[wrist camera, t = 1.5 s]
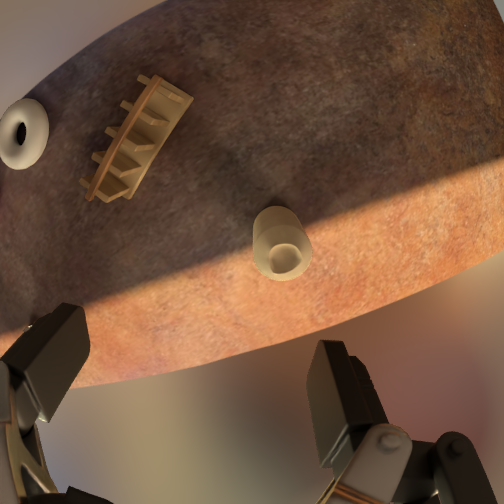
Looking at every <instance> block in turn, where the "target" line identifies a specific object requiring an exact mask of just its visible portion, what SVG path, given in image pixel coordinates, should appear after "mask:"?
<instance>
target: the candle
mask: <svg viewBox="0 0 504 504" xmlns="http://www.w3.org/2000/svg"><path fill="white" fill-rule="evenodd" d="M312 254H313V250H312V245H311V242H310V240H309V238H308V236H307V234H306V232H305V230H304V229H303V227H302V225H301V223H300V221H299V220H298V218H297V217H296V215H295V214H294V213H293V212H292V211H291V210H289V209H288V208H286V207H282V206H271V207H268V208H266V209H264V210H263V211H261V212H260V213H259V214H258V216H257V217H256V219H255V221H254V225H253V259H254V262H255V265H256V267H257V268H258V270H259V271H260V272H261V273H262V274H263V275H264V276H266V277H268V278H270V279H272V280H277V281H287V280H291V279H294V278H296V277H298V276H300V275H301V274H302V273H303V272H304V271H305V270H306V269H307V268H308V266H309V264H310V262H311V259H312Z"/></svg>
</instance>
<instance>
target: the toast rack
mask: <svg viewBox="0 0 504 504" xmlns="http://www.w3.org/2000/svg"><path fill="white" fill-rule="evenodd" d="M137 80H138V81H140V82H141V83H143V84H145V85H147V86H146V87H145V89H144V90H143V92H142V93H141V95H140V96H139V98H138V100H137V101H136V103H134V102H130V101H126V100H123V101H122V103H121V105H120V106H121V107H122V108H124V109H126V110H127V111H129V114H128V115H127V117H126V119H125V120H124V122H123V124H122V125H121V127H113V126H108V127H107V128H106V130H105V133H106V134H108V135H110V136H111V137H113V138H114V139H113V141H112V143H111V145H110V147H109V148H108V150H107V151H100V152H94V153H93V155H92V157H91V158H92V159H93V160H94V161H96V162H97V163H99V164H100V166H99V167H98V169H97V171H96V173H95V174H92V175H88V176H85V177H82V178H81V179H80V182H79V183H80V184H81V185H82V186H84V187H85V188H86V189H88V190H87V192H86V194H85V197H84V198H86V199H87V200H88V201H91V200H93V198H94V196H95V195H96V196H98V197H99V198H100V199H102V200H103V201H105V202H106V203H107V202H109V201H111V200H113V199H115V198H117V197H120V196H123V197H125V198H126V199H130V198H132V196H133V194H134V192H135V190H136V189H137V187H138V185H139V183H140V182H141V180H142V178H143V177H144V175H145V173H146V171H147V170H148V168H149V166H150V165H151V163H152V161H153V160H154V158H155V157H156V155H157V153H158V152H159V150H160V149H161V147H162V145H163V144H164V142H165V141H166V139H167V138H168V136H169V135H170V133H171V132H172V130H173V129H174V127H175V126H176V124H177V123H178V121H179V120H180V118H181V117H182V115H183V114H184V112H185V111H186V110H187V108H188V107H189V105H190V104H191V102H192V101H193V100H194V98H193V97H192V96H190V95H188V94H187V93H185V92H183V91H182V90H180V89H178V88H177V87H175V86H173V85H172V84H170V83H168V82H167V81H165V80H163V78H161V77H160V76H158V75H156V74H154V76H153V77H152V79H149V78H148V77H146V76H144V75H142V74H140V75H139V77H138V78H137Z"/></svg>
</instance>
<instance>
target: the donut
mask: <svg viewBox="0 0 504 504" xmlns="http://www.w3.org/2000/svg"><path fill="white" fill-rule="evenodd" d="M22 122H24V124H25V126H26V138H25V141H24V143H23V144H22V145H21V146H20V145H19V143H18V141H17V130H18V127H19V125H20V124H21V123H22ZM48 136H49V121H48V116H47V113H46V111H45V109H44V108H43V106H42V105H41V104H40V103H39V102H38V101H36V100H33V99H29V98H25V99H21V100H18V101H16V102H15V103H14V104H12V105H11V106H10V107H9V108H8V109H7V110H6V112H5V113H4V114H3V116H2V119H1V121H0V157H1V159H2V161H3V162H4V163H5V164H6V165H7V166H9V167H11V168H13V169H26V168H27V167H29V166H31V165H33V164H34V163H35V162H36V161H37V160H38V158H39V157H40V156H41V155H42V153H43V151H44V149H45V147H46V144H47V139H48Z"/></svg>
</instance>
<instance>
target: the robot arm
mask: <svg viewBox="0 0 504 504" xmlns="http://www.w3.org/2000/svg"><path fill="white" fill-rule="evenodd" d="M23 331H25V332H24V333H23V334H22V335H21V336H20V337H19V338H18V339H17V340H16V341H15V342H14V344H13V345H12V346H11V347H10V348H9V349H8V350H7V351H6V352H5V354H4V355H3V356H2V357H1V358H0V504H113V503H112V502H110V501H108V500H106V499H104V498H101V497H98V496H95V495H92V494H89V493H86V492H84V491H81V490H79V489H76V488H74V487H71V486H69V487H68V490H67V492H66V494H65V493H59V492H58V490H57V488H56V486H55V485H54V482H53V481H52V479H51V477H50V475H49V472H48V469H47V466H46V462H45V458H44V454H43V450H42V446H41V442H40V437H39V433H38V428H37V425H36V424H35V420H36V419H37V418H39V419H41V420H43V421H45V422H48V423H49V422H50V420H51V418H52V416H53V415H54V413H55V411H56V409H57V408H58V406H59V404H60V403H61V401H62V399H63V397H64V396H65V394H66V392H67V391H68V389H69V387H70V386H71V384H72V383H73V381H74V379H75V378H76V376H77V374H78V373H79V371H80V370H81V368H82V366H83V365H84V363H85V362H86V360H87V358H88V356H89V353H90V339H89V334H88V329H87V323H86V317H85V312H84V309H83V308H82V307H81V306H76V305H72V304H68V303H61V304H60V305H59V306H58V307H57V308H56V309H55V310H54V311H53V312H52V313H49V314H47V315H45V316H43V317H41V318H40V319H38V320H37V321H36V322H35V323H33V324H31V325H30V326H29V327H26V328H25V329H24V330H23ZM306 389H307V395H308V400H309V406H310V411H311V417H312V422H313V428H314V433H315V439H316V445H317V450H318V456H319V462H320V468H332V469H333V474H334V479H333V481H332V482H331V483H330V485H329V486H328V488H327V489H326V491H325V492H324V493H323V495H322V496H321V498H320V499H319V500H318V501H317V503H316V504H390V502H394V504H440V500H441V503H442V504H498V503H497V501H496V498H495V495H494V493H493V490H492V488H491V485H490V483H489V480H488V478H487V475H486V473H485V471H484V469H483V466H482V464H481V461H480V459H479V457H478V455H477V453H476V450H475V448H474V446H473V444H472V442H471V441H470V440H469V439H468V438H467V437H466V436H465V435H463V434H461V433H458V432H453V431H452V432H446V433H444V434H443V435H441V437H440V438H439V439H438V440H437V441H436V442H435V443H432V442H423V441H415V440H411V439H410V437H409V435H408V434H407V433H406V432H405V431H404V430H403V429H402V428H400V427H398V426H396V425H393V424H389V422H388V419H387V417H386V415H385V412H384V409H383V407H382V405H381V402H380V400H379V397H378V395H377V392H376V390H375V389H374V385H373V383H372V380H370V376H369V373H368V371H367V369H366V366H365V365H364V364H363V363H362V362H361V361H360V360H359V359H358V358H357V357H356V356H349V355H348V352H347V350H346V347H345V345H344V343H343V341H335V340H320V341H319V342H318V344H317V347H316V350H315V353H314V356H313V359H312V363H311V366H310V369H309V372H308V375H307V382H306ZM437 493H438V494H439V497H440V500H439V498H438V494H437Z"/></svg>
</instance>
